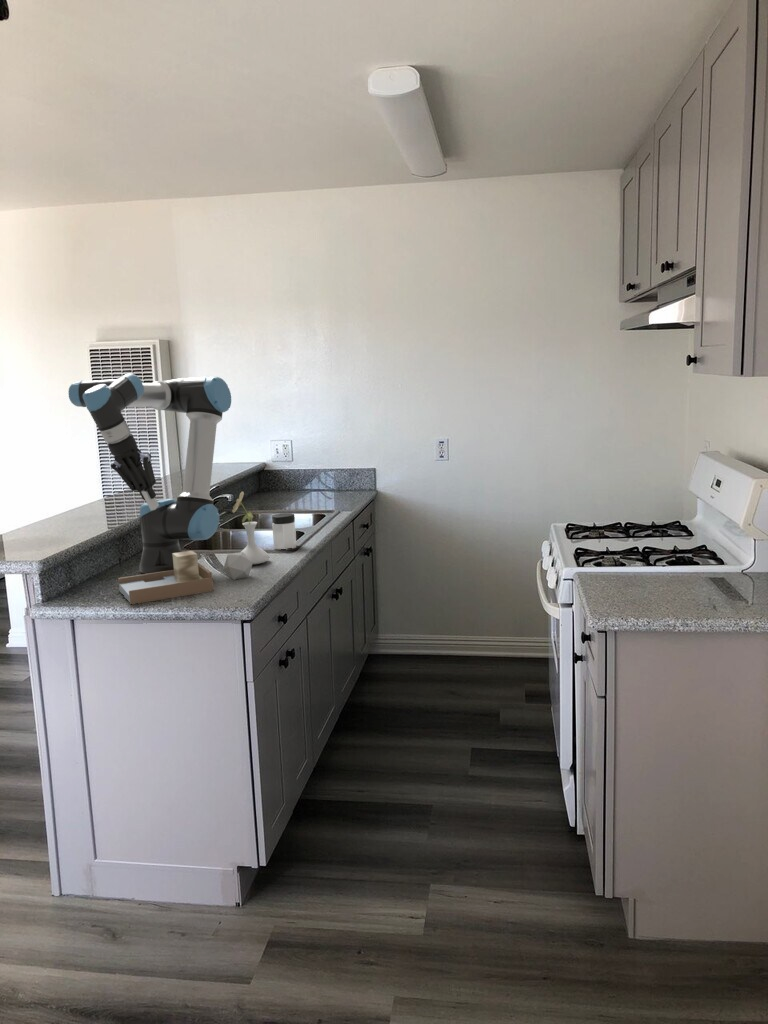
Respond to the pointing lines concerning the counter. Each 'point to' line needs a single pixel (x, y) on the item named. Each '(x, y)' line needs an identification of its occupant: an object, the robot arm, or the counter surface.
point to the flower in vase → (251, 537)
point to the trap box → (163, 586)
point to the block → (185, 566)
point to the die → (237, 565)
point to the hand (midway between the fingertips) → (154, 507)
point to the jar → (284, 531)
